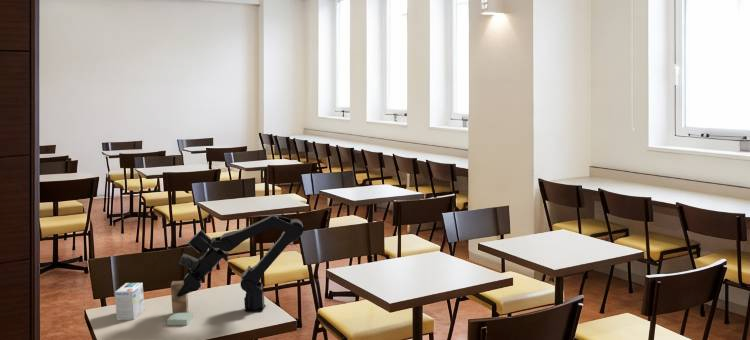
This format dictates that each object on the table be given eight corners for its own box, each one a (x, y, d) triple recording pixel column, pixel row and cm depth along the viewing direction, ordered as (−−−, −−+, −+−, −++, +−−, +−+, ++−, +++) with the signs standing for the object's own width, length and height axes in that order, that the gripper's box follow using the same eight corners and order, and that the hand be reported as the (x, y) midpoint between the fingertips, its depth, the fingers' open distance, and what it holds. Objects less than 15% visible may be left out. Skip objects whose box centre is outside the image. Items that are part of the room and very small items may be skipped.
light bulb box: (127, 310, 259) (125, 282, 258) (145, 309, 259) (143, 282, 257) (116, 320, 248) (113, 291, 247) (134, 320, 248) (132, 291, 247)
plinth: (193, 318, 249) (193, 312, 248) (186, 325, 242) (186, 319, 241) (174, 318, 249) (173, 312, 249) (167, 325, 242) (167, 319, 242)
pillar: (188, 311, 256) (186, 280, 254) (186, 316, 251) (184, 284, 249) (174, 312, 255) (172, 281, 253) (172, 317, 250) (170, 285, 248)
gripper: (194, 240, 259) (165, 270, 259) (189, 253, 241) (158, 285, 241) (217, 260, 262) (188, 289, 262) (213, 274, 243) (182, 306, 243)
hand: (179, 292), depth 252 cm, fingers open, 9 cm apart
